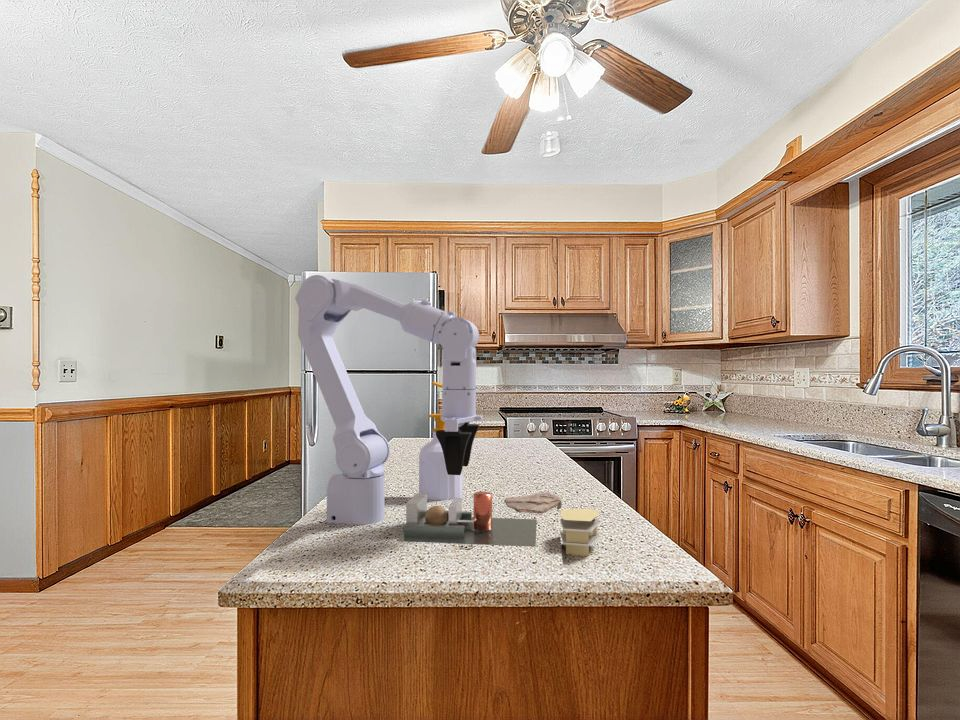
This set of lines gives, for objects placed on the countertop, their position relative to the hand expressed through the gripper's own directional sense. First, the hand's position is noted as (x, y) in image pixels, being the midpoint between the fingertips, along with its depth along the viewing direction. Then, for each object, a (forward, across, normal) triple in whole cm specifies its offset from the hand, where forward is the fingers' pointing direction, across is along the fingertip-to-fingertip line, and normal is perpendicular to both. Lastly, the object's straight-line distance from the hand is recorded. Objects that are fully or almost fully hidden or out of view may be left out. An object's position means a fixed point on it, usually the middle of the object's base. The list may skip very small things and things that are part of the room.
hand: (458, 470), depth 89 cm
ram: (+9, -3, -3) cm, 10 cm away
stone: (+11, +14, -12) cm, 22 cm away
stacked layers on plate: (+11, -6, -20) cm, 23 cm away
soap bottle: (+11, +20, +7) cm, 24 cm away
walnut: (+9, -3, +3) cm, 10 cm away
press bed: (+10, -3, -3) cm, 11 cm away
